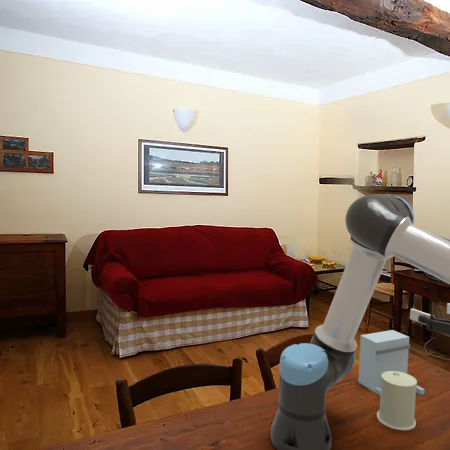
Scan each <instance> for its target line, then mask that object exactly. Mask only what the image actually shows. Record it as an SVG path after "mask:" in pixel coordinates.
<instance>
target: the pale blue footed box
mask: <svg viewBox="0 0 450 450" xmlns="http://www.w3.org/2000/svg"><path fill="white" fill-rule="evenodd" d="M359 340H360V342H359V359H358V360H359V361H358V365H359V366H358V380H357V381H358V384H360V385H362V386H364V387H366V388H367V389H368V390H370V391H372V393H374V394H376V395H378V396H379V397H381V374H382V373H383V372H386V371H398V372H403V373H406V374H408V366H409V352H410V351H409V349H411V344H410V336H408V335H406V334H403V333H401V332H398V331H396V330H393V329H392V330H391V329H389V330H385V331H384V330H383V331H378V332H373V333H371V332H370V333H367V334H360V339H359ZM425 391H426V389H425V388H423V387H421V386H420V385H417V386H416V394H419V395H421V396H423V395H425Z"/></svg>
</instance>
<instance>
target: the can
mask: <svg viewBox="0 0 450 450" xmlns="http://www.w3.org/2000/svg"><path fill="white" fill-rule="evenodd" d="M417 384H418V381H417V379H416V378H415V377H414V376H412V375H410V374H409V373H407V374H406V373H403V372H398V371H386V372H383V373H382V374H381V396H379V397H380V401H379V410H380V411H379V410H378V411H379V416H380V418H381V419H382V420H383V421H384V422H386V423H388V424H390V425H393V426H397V427H410V426H412V425H413V424H414V423H415V421H416V419H415V411H416V398H417V396H416V395H417V392H416V386H417ZM414 419H415V420H414Z"/></svg>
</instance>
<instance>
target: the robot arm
mask: <svg viewBox="0 0 450 450" xmlns="http://www.w3.org/2000/svg"><path fill="white" fill-rule="evenodd" d="M346 211H347V212H346V215H345V218H344V219H345V227H346V230H347V232H348V234H349V235H350V237H349V238H350V240H349V241H350V242H351V244H352V246H353V247H352V250H351V252H350V255H349V257H348V260H347V262H346V265H345V266H344V267H345V268H344V270H343V273H342V275H341V278H340V281H339V283H338V286H337V288H336V291H335V294H334V296H333V299H332V302H331V304H330V306H329V310H328V312H327V314H326V317H325V319H324V322H323V324H321V325H317V326H316V328H315V329H314V332H313V333H312V334H313V335H312V337H311V340H310V342H308V343H307V342H305V343H303V342H301V343H299V344H296V343H294V344H291V345H289V346H287V347H285V348H284V350H283V351H282V352H281V355H280V359H279V363H278V364H279V365H278V372H279V373H278V374H279V375H278V376H279V377H278V381H279V382H278V409H277V412H276V414H275V416H274V419H273V422H272V425H271V428H270V441H271V443H272V445H273V447H274V448H275V449H276V450H331V448H332V432H331V430H330V426H329V422H328V419H327V415H326V407H327V405H326V403H327V393H328V391H329V390H331V388H332V387H334V386H335V385H336V384H337V383H339V381H341V380H342V379H343V378H345V377H346V376H348V374H350V373H351V372H352V371H351V370H352V369H353V367H354V366H355V362H356V352H357V348H358V344H357V343H358V342H357V341H356V340H355V337H356V334H357V333H358V331H359V330H358V329H359V327H360V324H361V323H362V320H363V317H364V315H365V314H366V310H367V309H368V306H369V303H370V301H371V299H372V296H373V294H374V292H375V289H376V286H377V284H378V282H379V279H380V278H381V275H382V272H383V270H384V267H385V265H386V262H387V260H389V259H392V258H394V257H396V258H398V259H399V260H402V261H403V262H405V263H407V264H408V265H409V264H410V265H411V266H412V267H415V268H417V269H419V270H421V271H422V272H425V273H427V274H429V275H431V276H433V277H434V278H436V279H438V280H441V281H442V282H444V283H446V284H448V285H450V240H447V239H445V238H443V237H442V236H441V237H440V236H438V235H436V234H434V233H432V232H430V231H429V230H425V229H423V228H421V227H419V226H417V225H415V224H414V223H415V213H414V211H413V209H412V207H411V205H410V204H409V203H408V202H407V201H406V200H405V199H403V198H402V197H400V196H397V195H393V194H389V193H383V194H367V195H364V196H361V197H359V198H357V199H355V200H354V201H353V202H352V203H351V204H350V205H349V207H348V209H347V210H346ZM446 314H448V315H450V302H449V303H448V302H447V303H446ZM409 320H412V321H414V322H417V323H419V324H422V325H425V326H426V330H427V331H430V332H435V333H440V334H444V335H448V336H449V335H450V319H449V318H448V319H447V318H441V317H435V315H434V314H433V313H432V314H431V313H426V312H423V311H421V310H419V309H415V308H413V307H412V308H410V312H409Z"/></svg>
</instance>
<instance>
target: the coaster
mask: <svg viewBox="0 0 450 450" xmlns="http://www.w3.org/2000/svg"><path fill="white" fill-rule="evenodd" d="M379 411H380V409H378V411H377V412H376V419H377V420H378V421H379V422H380V423H381V424H382V425H384V426H385V427H387V428H390V429H393V430H397V431H404V432H405V431H411V430H413V429H415V428H416V424H417V421H416V419H415V418H414V420H415V423H414V424H413V425H412V426H410V427H397V426H393V425H390V424H388V423H386V422H384V421H383V420H382V419H381V418H380V416H379Z"/></svg>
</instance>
